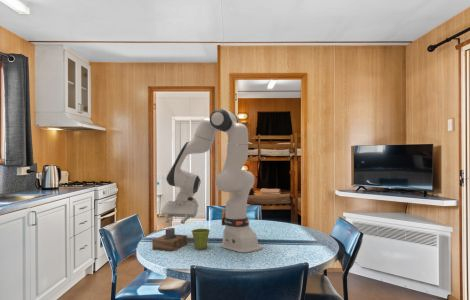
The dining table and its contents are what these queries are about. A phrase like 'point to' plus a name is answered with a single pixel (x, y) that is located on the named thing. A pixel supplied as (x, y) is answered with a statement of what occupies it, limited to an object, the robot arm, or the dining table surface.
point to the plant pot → (200, 238)
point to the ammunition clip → (223, 216)
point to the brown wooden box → (169, 243)
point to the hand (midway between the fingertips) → (174, 222)
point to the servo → (170, 233)
